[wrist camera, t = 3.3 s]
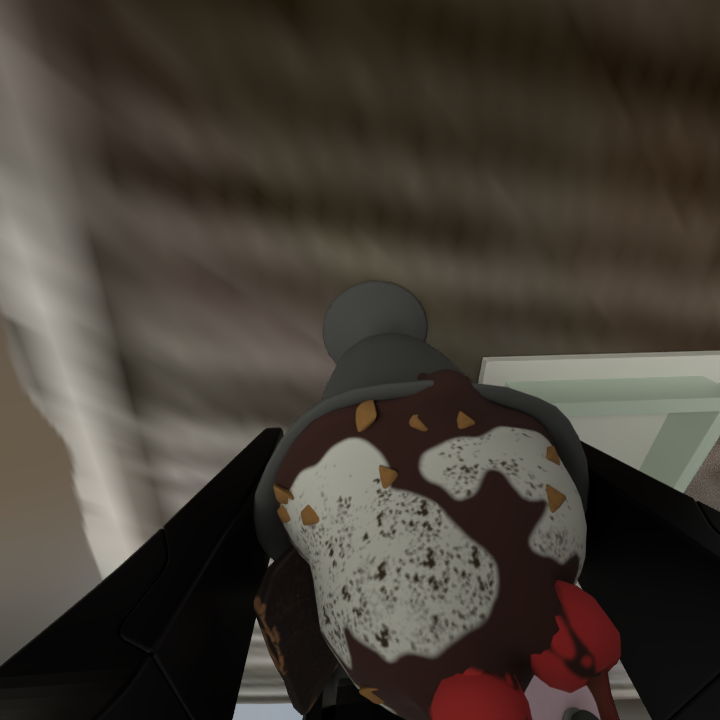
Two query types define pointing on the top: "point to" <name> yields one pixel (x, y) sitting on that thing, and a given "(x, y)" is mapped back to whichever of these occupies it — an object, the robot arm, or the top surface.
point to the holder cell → (628, 403)
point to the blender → (560, 703)
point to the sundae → (427, 533)
